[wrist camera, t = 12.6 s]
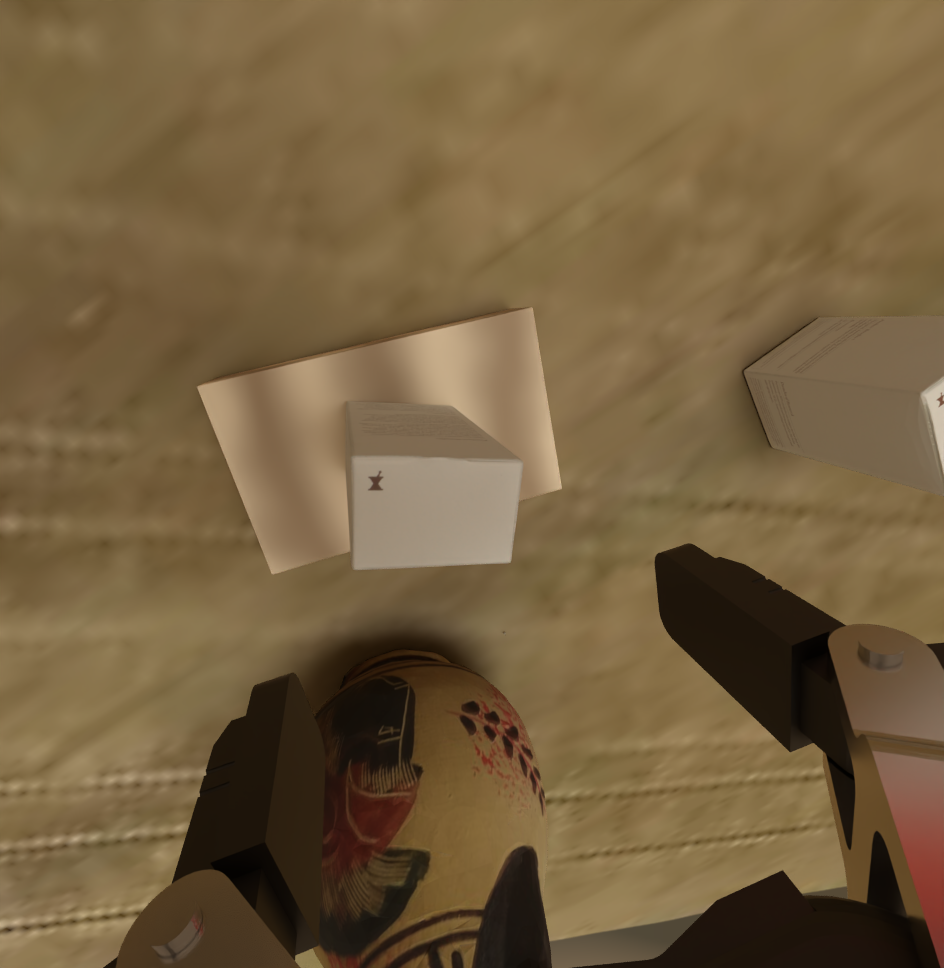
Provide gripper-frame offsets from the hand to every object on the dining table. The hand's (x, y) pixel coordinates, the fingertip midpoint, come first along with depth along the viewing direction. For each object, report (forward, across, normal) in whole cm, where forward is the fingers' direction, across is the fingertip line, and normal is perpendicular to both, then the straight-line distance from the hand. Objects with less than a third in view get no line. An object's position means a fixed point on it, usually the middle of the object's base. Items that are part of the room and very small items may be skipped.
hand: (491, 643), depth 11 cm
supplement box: (+23, -30, +4) cm, 38 cm away
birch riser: (+23, 0, 0) cm, 23 cm away
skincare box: (+19, 0, 0) cm, 19 cm away
